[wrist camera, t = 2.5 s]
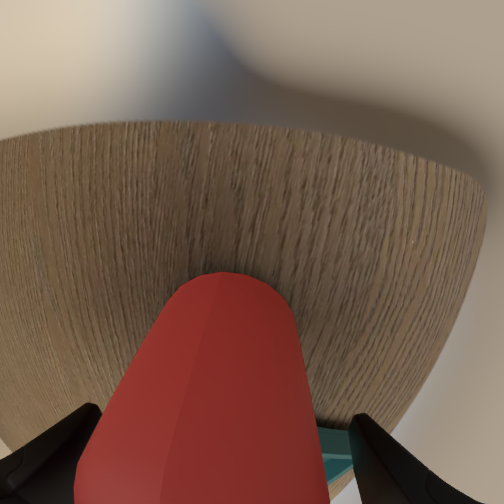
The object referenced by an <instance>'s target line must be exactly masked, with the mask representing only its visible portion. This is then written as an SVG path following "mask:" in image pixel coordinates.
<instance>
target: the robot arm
mask: <svg viewBox="0 0 504 504" xmlns="http://www.w3.org/2000/svg"><path fill="white" fill-rule="evenodd" d="M101 416H102V412H101V410H100V409H99V407H98V405H96V404H93V403H89V402H88V403H85V404H84V405H82V406H81V407H79V408H78V409H77V410H75V411H74V412H72V413H71V414H70V415H68V416H67V417H65V418H64V419H62V420H61V421H59V422H58V423H57V424H55V425H54V426H52V427H51V428H49V429H48V430H46V431H45V432H43V433H42V434H41V435H39V436H38V437H36V438H35V439H33V440H32V441H30V442H29V443H27V444H26V445H24V446H23V447H21V448H20V449H18V450H17V451H15V452H13V453H12V454H10V455H8V456H7V457H5V458H3V459H1V460H0V504H75V503H74V482H75V476H76V470H77V464H78V462H79V460H80V457H81V455H82V453H83V451H84V449H85V447H86V445H87V443H88V441H89V439H90V437H91V436H92V434H93V432H94V430H95V428H96V426H97V424H98V422H99V420H100V418H101ZM348 435H349V442H350V449H351V456H352V464H353V469H354V474H355V477H356V481H357V485H358V489H359V493H360V497H361V501H362V504H484V503H480V502H478V501H475V500H474V499H472V498H470V497H469V496H467V495H465V494H464V493H462V492H460V491H458V490H457V489H455V488H454V487H452V486H451V485H449V484H447V483H446V482H444V481H443V480H442V479H441V478H439V477H438V476H437V475H436V474H434V473H433V472H432V471H431V470H429V469H428V468H427V467H426V466H424V464H422V463H421V462H420V461H419V460H418V459H417V458H416V457H414V456H413V455H412V454H411V453H410V452H409V451H408V450H406V449H405V448H404V447H403V446H402V445H401V444H400V443H398V442H397V441H396V440H395V439H394V438H393V437H392V436H391V435H389V434H388V433H387V432H386V431H385V430H384V429H383V428H382V427H381V426H379V425H378V424H377V423H376V422H375V421H374V420H373V419H372V418H371V417H370V416H369V415H367V414H366V413H360V414H355V415H354V416H353V418H352V421H351V423H350V426H349V429H348Z"/></svg>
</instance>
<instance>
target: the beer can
mask: <svg viewBox="0 0 504 504" xmlns="http://www.w3.org/2000/svg"><path fill="white" fill-rule="evenodd" d="M74 503H75V504H330V498H329V492H328V486H327V480H326V474H325V469H324V463H323V457H322V452H321V446H320V441H319V436H318V430H317V425H316V420H315V415H314V409H313V404H312V399H311V394H310V389H309V384H308V379H307V375H306V370H305V365H304V360H303V356H302V351H301V346H300V342H299V337H298V332H297V328H296V323H295V319H294V315H293V313H292V311H291V310H290V308H289V306H288V304H287V303H286V301H285V299H284V298H283V297H282V296H281V295H280V294H279V293H277V292H276V291H275V290H274V289H273V288H272V287H270V286H269V285H268V284H267V283H264V282H262V281H260V280H257V279H255V278H253V277H250V276H248V275H246V274H237V273H229V272H217V273H212V274H206V275H200V276H198V277H196V278H194V279H192V280H190V281H189V282H187V283H185V284H183V285H181V286H180V287H179V288H178V290H177V291H176V292H175V293H174V294H173V295H172V296H171V297H170V299H169V300H168V301H167V303H166V305H165V306H164V308H163V309H162V311H161V313H160V314H159V316H158V318H157V319H156V321H155V323H154V324H153V326H152V328H151V329H150V331H149V333H148V334H147V336H146V338H145V339H144V341H143V343H142V345H141V346H140V348H139V350H138V351H137V353H136V355H135V357H134V358H133V360H132V362H131V364H130V365H129V367H128V369H127V371H126V372H125V374H124V376H123V378H122V380H121V381H120V383H119V385H118V387H117V389H116V390H115V392H114V394H113V396H112V398H111V399H110V401H109V403H108V405H107V407H106V409H105V411H104V413H103V414H102V416H101V418H100V420H99V422H98V424H97V426H96V428H95V430H94V432H93V434H92V436H91V437H90V439H89V441H88V443H87V445H86V447H85V449H84V451H83V453H82V455H81V457H80V460H79V462H78V464H77V470H76V476H75V482H74Z"/></svg>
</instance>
